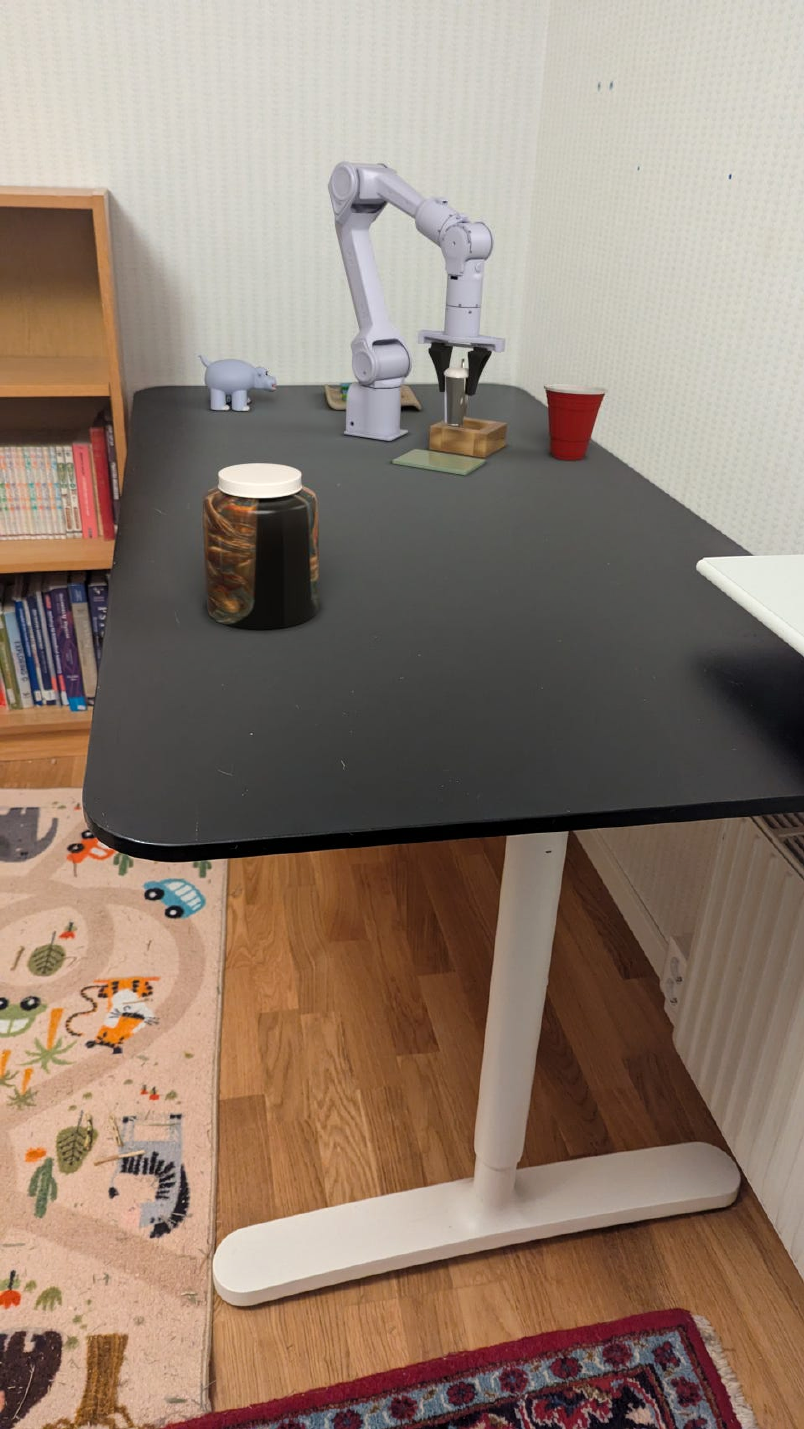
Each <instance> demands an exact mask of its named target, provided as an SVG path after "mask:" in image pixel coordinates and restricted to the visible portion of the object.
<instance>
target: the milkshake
mask: <svg viewBox="0 0 804 1429" xmlns="http://www.w3.org/2000/svg"><path fill="white" fill-rule="evenodd" d="M464 366H465V358H461V362H460V366H455V367H453V366H450V367H449V368H448V369H447V370H446V371H445V372H444V389H445V392H444V420H445V423H446V424H448V425H463V424H464V423H465V417H466V416H467V415H466V414H467V407H468V401H469V396H467V385H468V375H469V371H468V368H467V367H464Z"/></svg>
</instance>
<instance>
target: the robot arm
mask: <svg viewBox="0 0 804 1429" xmlns="http://www.w3.org/2000/svg"><path fill="white" fill-rule="evenodd" d="M327 189H328V194H329V198H330V203H331V207H332V211H333V215H334V229H335V234H336V237H337V242H338V246H339V249H340V250H339V251H340V255H341V258H342V262H343V268H344V271H345V275H346V279H347V283H348V288H349V293H350V296H351V301H352V305H353V310H354V312H355V313H354V314H355V317H356V322H357V326H358V331H359V332H357V334H356V336H355V337H354V339H352V341H351V343H350V348H351V354H352V356H351V357H352V359H351V367H352V372H353V375H354V377H355V379H356V380H357V381H352V382H353V383H352V382H351V383H352V384H351V385H350V387H349V389H348V392H347V398H346V410H345V430H344V431H343V434H344V435H347V436H354V437H361V438H367V439H374V440H379V441H386V442H392V441H394V440H396V439H398V438H400V437H402V436H405V435H406V434H408V433H409V430H408V429H403V428H402V429H401V412H402V409H401V408H402V406H401V389H402V386H401V385H405V383H406V382H405V381H406V380H405V379H406V378H408V377H409V375H410V374H411V371H412V367H413V357H412V354H411V351H410V350H409V348H408V347H407V346H408V345H406V342H405V340H404V335H403V334H402V332H401V331H399V329H397V328H396V327H395V326H393V324H392V323H391V321H390V318H389V315H388V309H387V305H386V300H385V297H384V291H383V288H382V283H381V279H380V275H379V270H378V266H377V261H376V258H375V253H374V249H373V245H372V240H371V236H370V235H371V234H370V231H369V230H370V228H371V225H372V224H373V223H374V222H376V220H377V219H378V217H379V216H381V214H382V212H384V209H385V208H386V207H387V205H388V204H390V205H392V206H393V207H395V208H396V209H398V210H399V211H400V212H402V213H404V214H406V215H407V216H409V217H411V218H412V219H414V225H415V229H416V231H417V232H419V233H420V234H421V235H422V236H424V237H426V238H427V239H428V240H429V241H430V242H432V243H434V244H435V245H436V246H438V247H439V248H440V250H441V254H442V257H443V258H444V262H445V266H444V270H445V271H446V274H447V276H446V291H445V292H446V293H445V306H444V307H445V308H444V326H443V330H430V329H421V330H418V331H417V344H422V345H424V344H428V345H430V347H429V348H428V349H427V352H428V354H429V357H430V359H431V362H432V364H433V366H434V370H435V374H436V378H437V384H438V391H439V393H445V389H444V372H445V371H446V370H447V369H448V368H450V367H451V366H450V365H451V359H452V353H453V350H454V348H463V349H472V350H469V351H467V353H466V354H467V364H468V371H469V375H468V385H467V396H468V397H472V396H475V395H476V392H477V389H478V385H479V381H480V378H481V376H482V373H483V372H484V369H485V367H486V365H487V363H488V361H489V360H490V358H491V356H492V354H493V352H494V353H503V352H505V350H506V338H504V337H496V336H491V335H484V334H480V326H481V316H482V315H481V314H482V301H483V289H484V288H483V286H484V276H485V274H484V273H485V261H487V260H488V259H489V258H490V257H491V255H492V254H493V250H494V243H495V240H494V235H493V231H492V230H491V228H490V227H489V226H488V225H487V224H486V222H484V221H473V222H471V220H470V219H469V216H468V214H466V213H465V212H459V211H457V210H456V209H454V208H453V207H452V206H451V205H449V200H448V199H447V198H446V197H445V196H437V197H435V196H432V197H430V198H425V197H424V196H423V195H422V194H421V193H419V191H417V189H415V188H414V187H413V186H412V185H410V184H409V183H408V182H407V181H405V180H404V179H403V178H402V177H401V176H400V175H399V174H398V172H397V170H396V169H394V168H391V167H390V166H388V165H387V164H386V163H383V162H382V163H381V162H379V163H362V162H361V163H360V162H350V161H344V160H343V161H340V162H338V163H337V164H336V165H335V166H334V167H333V170H332V173H331V175H330V177H329V181H328V183H327Z"/></svg>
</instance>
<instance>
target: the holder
mask: <svg viewBox="0 0 804 1429" xmlns="http://www.w3.org/2000/svg"><path fill="white" fill-rule="evenodd" d="M507 430H508V423H507V422H503V421H502V422H501V421H495V420H487V419H480V418H474V417H466V416H465V423H464V424H463V425H448V424H446V423H445V419H443V420H441V421H438V422H437V423H435V424H432V425H430V428H429V444H428V445H429V446H428V449H429V451H437V452H442V453H450V454H451V453H452V454H455V455H462V456H468V457H470V456H471V457H474V458H481V459H482V458H483V459H485V458H487V457H489V456H491V455H493V453H495V452H497V451H498V450H500V449H502V448H504V447H506V440H507Z"/></svg>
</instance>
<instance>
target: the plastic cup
mask: <svg viewBox="0 0 804 1429" xmlns="http://www.w3.org/2000/svg"><path fill="white" fill-rule="evenodd" d="M543 389H544V391H545V394H546V403H547V414H548V436H549V444H550V448H549V449H550V455H551V456H552V457H553V458H555V459H559V460H565V461H580V460H583V459H585V455H586V454H587V450H588V447H589V443H590V441H591V438H592V435H593V431H594V427H595V424H596V421H597V418H598V414H599V410H600V408H601V406H602V402H603V401H604V398H605V395H606V394H607V393H608V391H609V389H608V388H605V387H600V386H594V385H585V384H574V383H573V384H572V383H571V384H570V383H549V384H544V385H543Z"/></svg>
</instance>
